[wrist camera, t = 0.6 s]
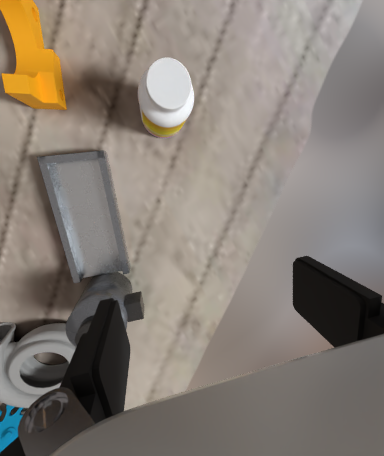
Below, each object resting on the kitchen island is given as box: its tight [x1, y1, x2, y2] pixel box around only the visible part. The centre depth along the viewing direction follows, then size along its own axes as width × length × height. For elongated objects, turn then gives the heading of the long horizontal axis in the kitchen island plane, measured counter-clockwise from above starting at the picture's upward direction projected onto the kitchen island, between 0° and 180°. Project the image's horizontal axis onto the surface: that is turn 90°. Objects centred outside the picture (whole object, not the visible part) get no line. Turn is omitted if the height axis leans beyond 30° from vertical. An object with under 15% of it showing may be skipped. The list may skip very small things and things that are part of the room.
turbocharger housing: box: [0, 322, 76, 408], centre depth 38 cm, size 17×6×15 cm
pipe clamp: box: [0, 0, 67, 110], centre depth 26 cm, size 12×4×6 cm, turn 0°
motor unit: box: [37, 151, 144, 347], centre depth 31 cm, size 28×11×12 cm, turn 6°
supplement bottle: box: [138, 58, 194, 138], centre depth 28 cm, size 7×7×13 cm
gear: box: [0, 405, 24, 452], centre depth 40 cm, size 11×6×10 cm
